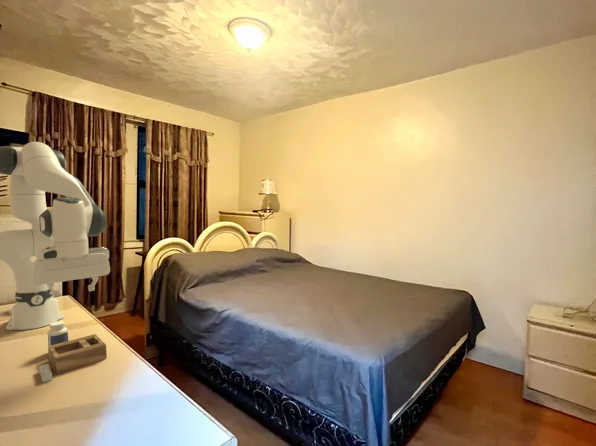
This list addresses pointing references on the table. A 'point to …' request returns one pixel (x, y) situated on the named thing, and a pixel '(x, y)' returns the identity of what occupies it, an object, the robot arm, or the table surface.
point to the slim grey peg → (45, 373)
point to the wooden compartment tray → (76, 353)
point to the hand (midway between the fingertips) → (74, 293)
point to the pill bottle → (57, 333)
